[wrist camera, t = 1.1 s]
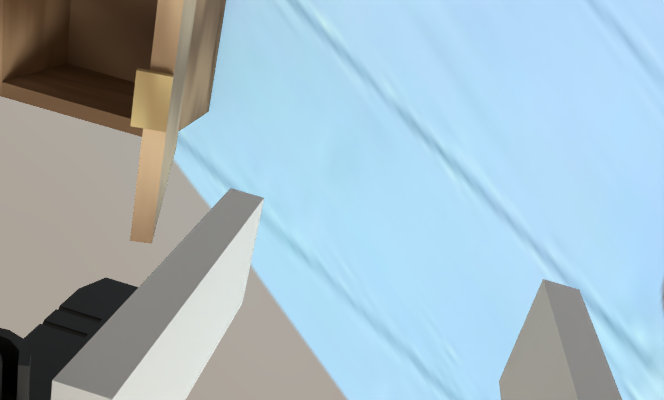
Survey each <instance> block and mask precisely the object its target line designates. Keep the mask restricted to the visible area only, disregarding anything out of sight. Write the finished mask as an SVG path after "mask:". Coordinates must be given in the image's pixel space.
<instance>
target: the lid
mask: <svg viewBox="0 0 664 400" xmlns="http://www.w3.org/2000/svg"><path fill="white" fill-rule="evenodd" d="M196 1H197V0H158V4H157V13H156V21H155V30H154V39H153V47H152V56H151V65H150V70H145V69H140V68H137V70H136V78H135V88H134V97H133V107H132V116H131V125H130V126H132V127H138V128H143V134H142V143H141V152H140V160H139V169H138V177H137V186H136V195H135V204H134V212H133V221H132V229H131V238H130V241H136V242H144V243H152V240H153V236H154V232H155V228H156V225H157V221H158V217H159V213H160V209H161V205H162V201H163V197H164V193H165V189H166V185H167V182H168V178H169V174H170V170H171V166H172V162H173V158H174V154H175V150H176V144H177V137H178V130H179V123H180V115H181V108H182V101H183V94H184V87H185V80H186V72H187V65H188V58H189V51H190V44H191V37H192V29H193V22H194V15H195V8H196Z"/></svg>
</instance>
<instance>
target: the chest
mask: <svg viewBox="0 0 664 400" xmlns="http://www.w3.org/2000/svg"><path fill="white" fill-rule="evenodd" d="M157 4H158V0H0V96H2V97H6V98H9V99H13V100H16V101H19V102H23V103H26V104H30V105H33V106H37V107H40V108H44V109H47V110H51V111H55V112H58V113H61V114H65V115H68V116H72V117H75V118H79V119H82V120H85V121H89V122H93V123H96V124H99V125H103V126H107V127H110V128H113V129H117V130H120V131H124V132H127V133H131V134H134V135H138V136H141V137H142V134H143V128H138V127H132V126H130V125H131V116H132V107H133V97H134V88H135V78H136V70H137V68H140V69H145V70H150V65H151V56H152V47H153V39H154V30H155V21H156V13H157ZM225 4H226V0H197V1H196V8H195V15H194V22H193V29H192V37H191V44H190V51H189V58H188V65H187V72H186V80H185V87H184V94H183V101H182V108H181V115H180V123H179V130H178V131H180V130H181V129H183V128H184V127H186V126H187V125H189V124H190V123H192V122H193V121H195V120H197V119H198V118H200V117H201V116H203V115H204V114H206V113H207V112H208V111H209V105H210V99H211V92H212V86H213V80H214V73H215V67H216V61H217V54H218V48H219V42H220V35H221V29H222V23H223V16H224V10H225Z"/></svg>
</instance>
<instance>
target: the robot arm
mask: <svg viewBox="0 0 664 400" xmlns="http://www.w3.org/2000/svg"><path fill="white" fill-rule="evenodd" d="M263 201H264V198H262V197H259V196H255V195H252V194H249V193H245V192H242V191H238V190H235V189H231V188H230V190H229V191H228V192H227V193H226V194H225V195H224V196H223V197H222V198H221V199H220V200H219V201H218V202H217V204H216V205H215V206H214V207H213V208H212V209H211V210H210V211H209V212H208V213H207V214H206V215H205V216H204V218H203V219H202V220H201V221H200V222H199V223H198V224H197V225H196V226H195V227H194V228H193V229H192V231H191V232H190V233H189V234H188V235H187V236H186V237H185V238H184V239H183V240H182V241H181V242H180V243H179V244H178V246H177V247H176V248H175V249H174V250H173V251H172V252H171V253H170V254H169V255H168V256H167V257H166V258H165V259H164V261H163V262H162V263H161V264H160V265H159V266H158V267H157V268H156V269H155V270H154V271H153V272H152V274H151V275H150V276H149V277H148V278H147V279H146V280H145V281H144V282H143V283H142V284H141V285H140V287H135V286H131V285H128V284H125V283H122V282H119V281H115V280H112V279H109V278H104V279H101V280H99V281H97V282H94V283H92V284H89V285H87V286H84V287H82V288H79V289H78V290H77V291H76V292H75V293H74V294H73V295H71V296H70V297H69V298H68V299H67V300H66V301H65V302H64V303H62V304H61V305H60V307H59V309H58V310H55V311H54V312H53V313H52V314H50V315H49V316H48V317H47V318H46V319H45V320H44V322H43V324H40V325H38V326H37V327H36V328H35V329H34V330H33V331H32V332H30V333H29V334H28V335H27V336H26V337H25V338H24V339H23V338H21V337H19V336H18V335H16V334H15V333H13V332H11V331H10V330H6V329H2V328H0V400H185V399H186V398H187V396H188V394H189V393H190V391H191V389H192V388H193V386H194V384H195V382H196V381H197V379H198V377H199V376H200V374H201V372H202V370H203V369H204V367H205V366H206V364H207V362H208V360H209V359H210V357H211V355H212V354H213V352H214V350H215V349H216V347H217V345H218V343H219V342H220V340H221V338H222V337H223V335H224V333H225V332H226V330H227V328H228V326H229V325H230V323H231V321H232V320H233V318H234V316H235V315H236V313H237V311H238V310H239V308H240V306H241V305H242V302H243V298H244V293H245V288H246V283H247V278H248V274H249V269H250V264H251V259H252V254H253V249H254V245H255V240H256V235H257V230H258V225H259V221H260V216H261V211H262V206H263ZM499 385H500V393H501V400H622V398H621V396H620V393H619V391H618V388H617V385H616V383H615V380H614V378H613V375H612V373H611V370H610V368H609V365H608V362H607V360H606V357H605V355H604V352H603V350H602V347H601V344H600V342H599V339H598V337H597V334H596V332H595V329H594V326H593V324H592V321H591V319H590V316H589V314H588V311H587V308H586V306H585V303H584V301H583V298H582V296H581V293H580V291H579V290H578V289H575V288H572V287H568V286H565V285H561V284H558V283H554V282H551V281H548V280H544V279H543V281H542V283H541V285H540V288H539V290H538V292H537V295H536V297H535V299H534V301H533V304H532V306H531V308H530V311H529V313H528V315H527V318H526V320H525V322H524V325H523V327H522V329H521V332H520V334H519V336H518V339H517V341H516V343H515V345H514V348H513V350H512V352H511V355H510V357H509V359H508V362H507V364H506V366H505V369H504V371H503V373H502V376H501V378H500V380H499Z"/></svg>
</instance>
